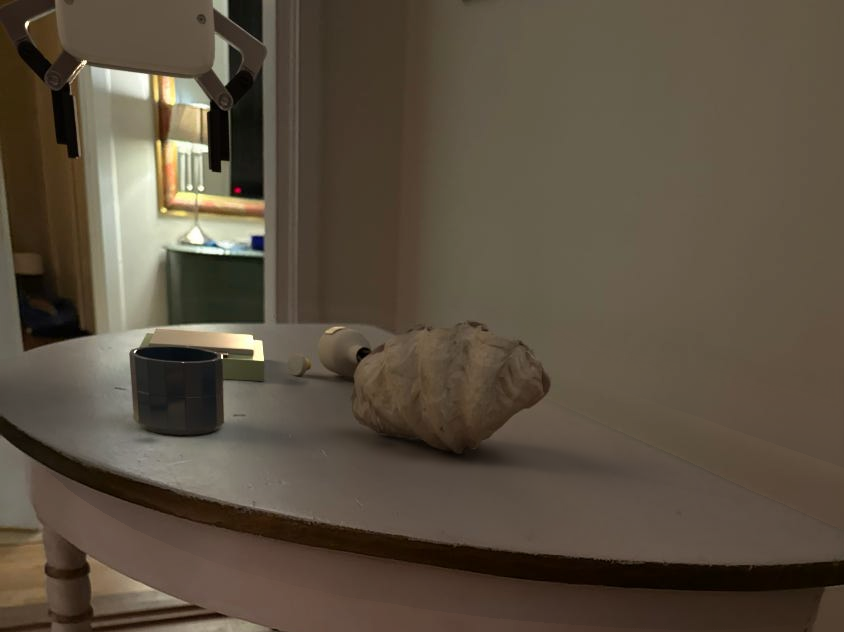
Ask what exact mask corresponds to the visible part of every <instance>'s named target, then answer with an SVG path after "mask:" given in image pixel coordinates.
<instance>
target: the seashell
mask: <svg viewBox="0 0 844 632" xmlns="http://www.w3.org/2000/svg"><path fill="white" fill-rule="evenodd" d="M353 380H354V385H353V387H352V391H351V395H350V400H351V407H350V409H351V413H352V414H353V416H354V418H355V420H356V421H357V422H358V423H359V424H360V425H362V426H365V427H367V428H369V429H371V431H374V432H375V433H378V434H381V435H386V436H396V437H405V438H417V439H420V440H421V441H424V442H425V443H426V444H428V445H429V446H431V447H433V448H434V449H437V450H440V451H445V452H450V451H453V452H454V453H455V454H462V453H463V452H464V449H466V448H469V449H471V450H475V449H477V448H478V447H479V445H480V443H482V441H485V440H489V439H490V438H491V437H492V436H493V435H494V434H495V433H496V432H498V430H500V429H501V428H502V427H503V426H504V425H505V424H506V423H507V422H508V421H510V419H511V418H512V417H513V416H515V415H516V414H518V413H520V412H521V411H523V410H524V409H525V410H527V409H528V410H530V409H531V408H532V407H534V406H535V405H537V404H538V403H539V402H540V401H541V400H543V399H544V398H545V397H546V396H547V395H548V393H549V392H550V389H551V386H552V379H551V376H550V374H549V373H548V372H547V371H546V369H544V367H543V362H542V360H540V359H538V358H537V357H536V355H535V351H534V350H533V348H530V347H529V345H527V344H525V343H524V342H523V341H522V340H519V339H514V338H512V339H511V340H510V339H507V338H505V337H503V336H500V335H498V334H495V333H493V332H490V327H489V326H488V325H487V324H486V323H485V322H482V321H479V320H475V319H467V320H465V321H464V322H458V323H456V324H455V325H453V327H451V328H449V327H441V328H438V329H437V328H435V327H434V325H432V324H430V326H428V325H425V324H422V323H420V324H415V325H414V326H412V327H410V328H409V329H408V330H407V331H405V332H404V333H401V334H398V335H395V336H394V337H392V338H390V339H388V340H387V341H386V342H383V343H382V344H380V345H378V346H377V347H374V348H373V349H372V352H371V353H370V354H368V355H367V356H366V357H365V358H364V359H362V360H361V362H360V363H359V365H358V367H357V369H356V371H355V374H354V376H353Z"/></svg>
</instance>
